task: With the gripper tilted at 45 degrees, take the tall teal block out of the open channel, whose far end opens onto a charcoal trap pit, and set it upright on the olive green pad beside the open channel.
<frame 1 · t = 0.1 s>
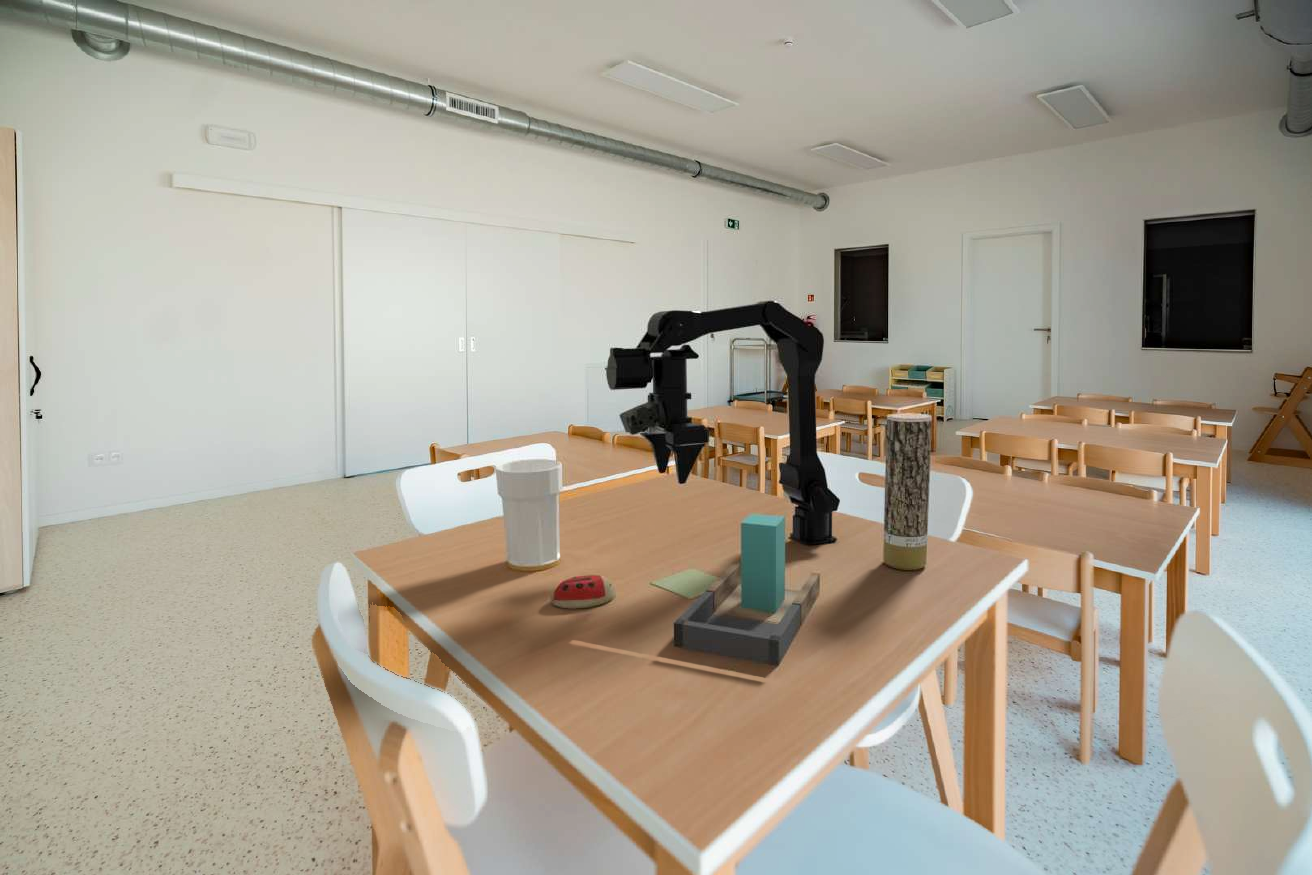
hand: (671, 478, 116), 15 cm above the table, tool pointing down, fingers open, 9 cm apart
ladybug figurine: (584, 603, 102), on the table
teal block: (763, 603, 98), resting on open channel
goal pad: (691, 585, 106), on the table
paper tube: (904, 565, 113), on the table
trap pit: (738, 639, 88), on the table
cup: (534, 563, 119), on the table
open channel: (764, 604, 98), on the table
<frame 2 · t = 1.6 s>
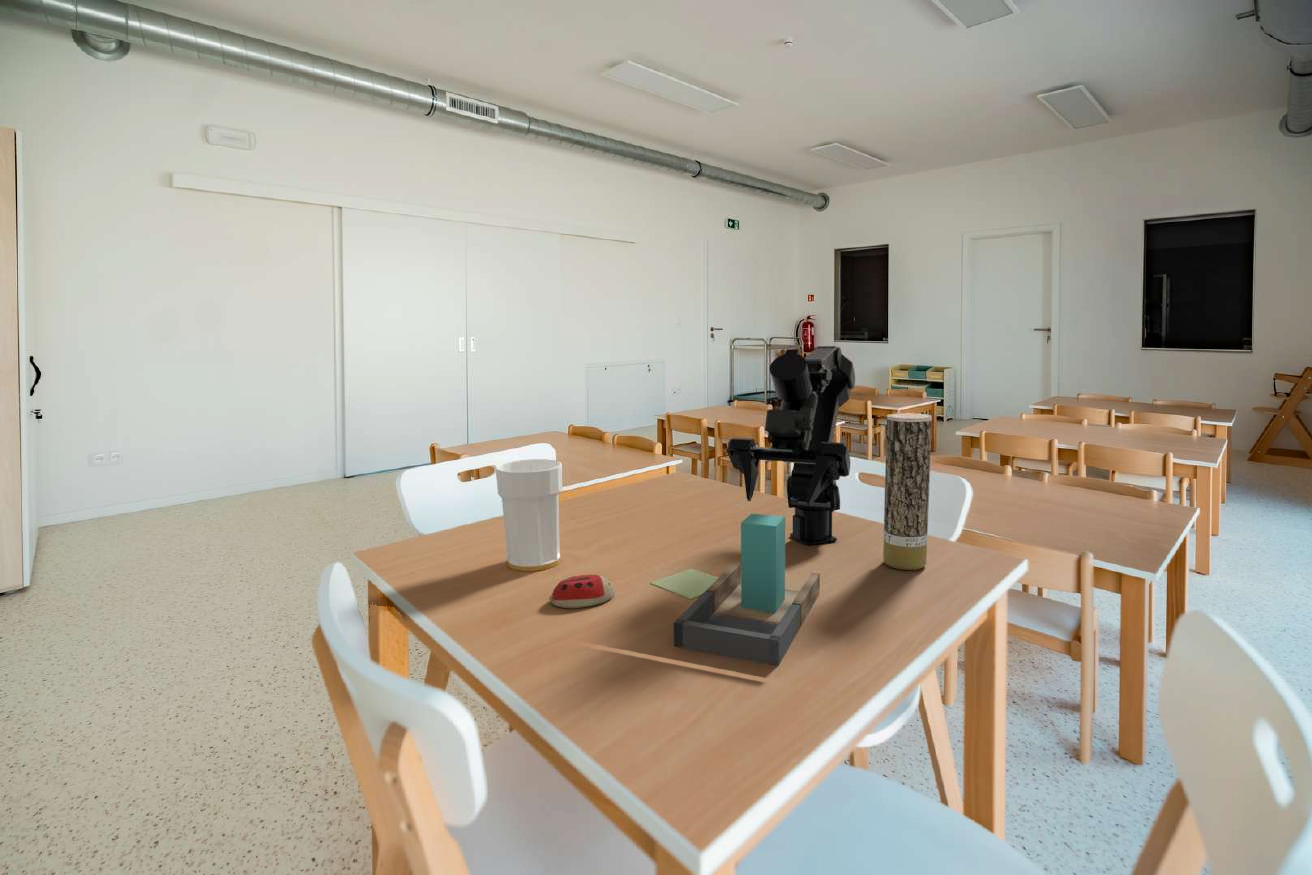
hand: (777, 502, 103), 13 cm above the table, tool tilted 45°, fingers open, 9 cm apart
nothing on the table moved.
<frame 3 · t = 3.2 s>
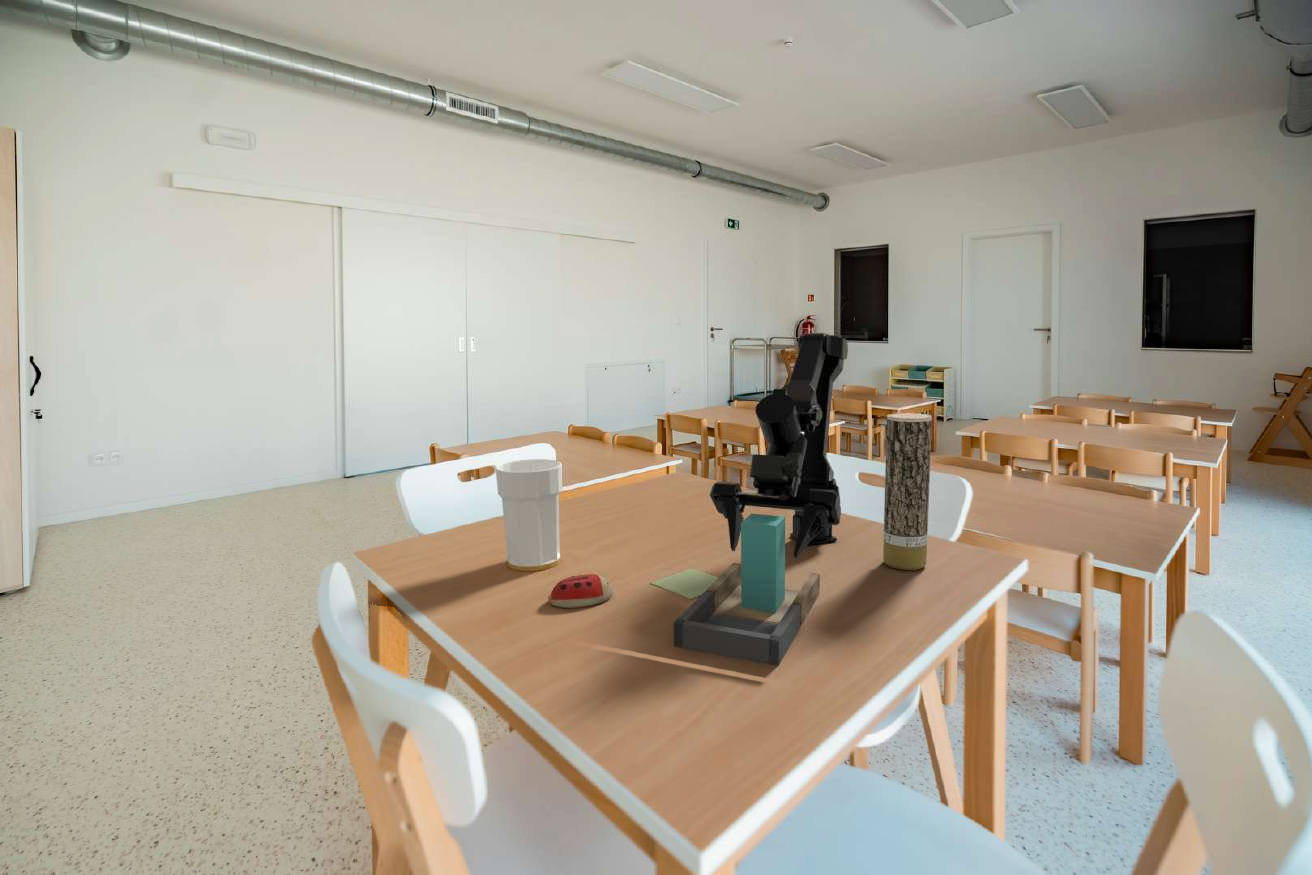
hand: (763, 553, 97), 8 cm above the table, tool tilted 45°, fingers open, 9 cm apart
nothing on the table moved.
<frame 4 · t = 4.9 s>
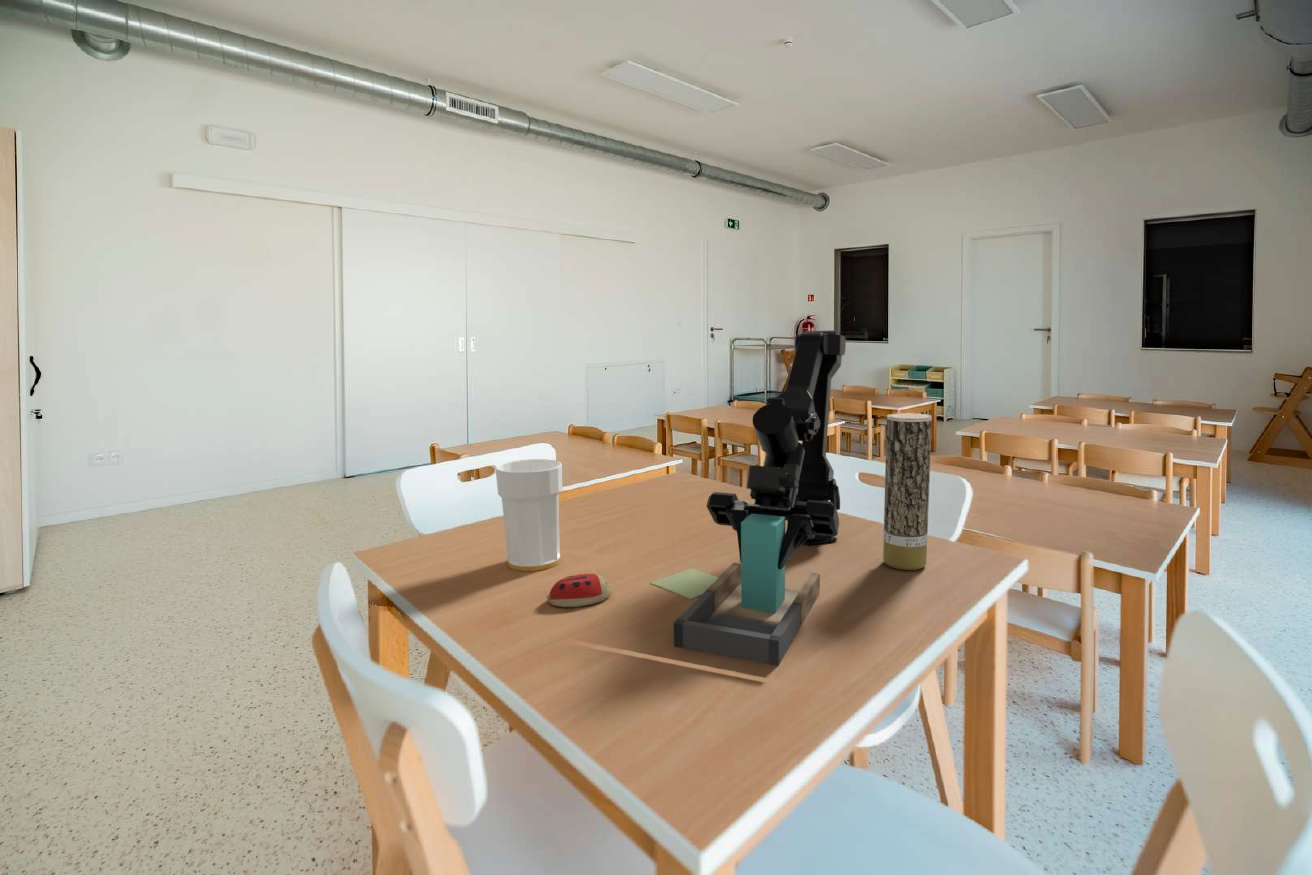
hand: (760, 565, 96), 7 cm above the table, tool tilted 45°, fingers closed on teal block, 5 cm apart
teal block: (763, 603, 98), resting on open channel, touching gripper
everything else where it was.
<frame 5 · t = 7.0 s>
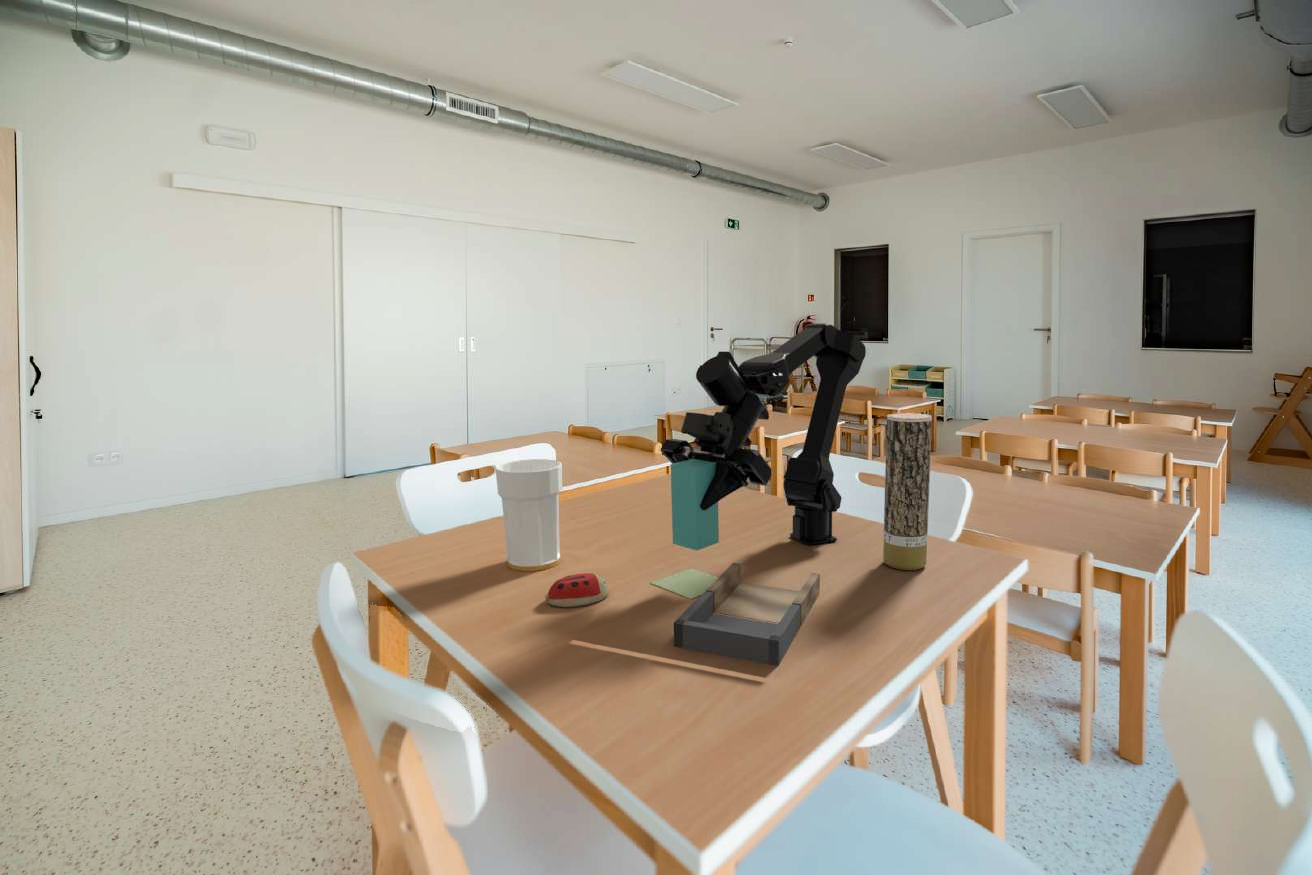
hand: (688, 505, 102), 13 cm above the table, tool tilted 45°, fingers closed on teal block, 5 cm apart
teal block: (695, 543, 104), point 7 cm above the table, touching gripper
when the fingers open (8 cm above the table, at t = 9.2 s): teal block drops 1 cm, resting on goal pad.
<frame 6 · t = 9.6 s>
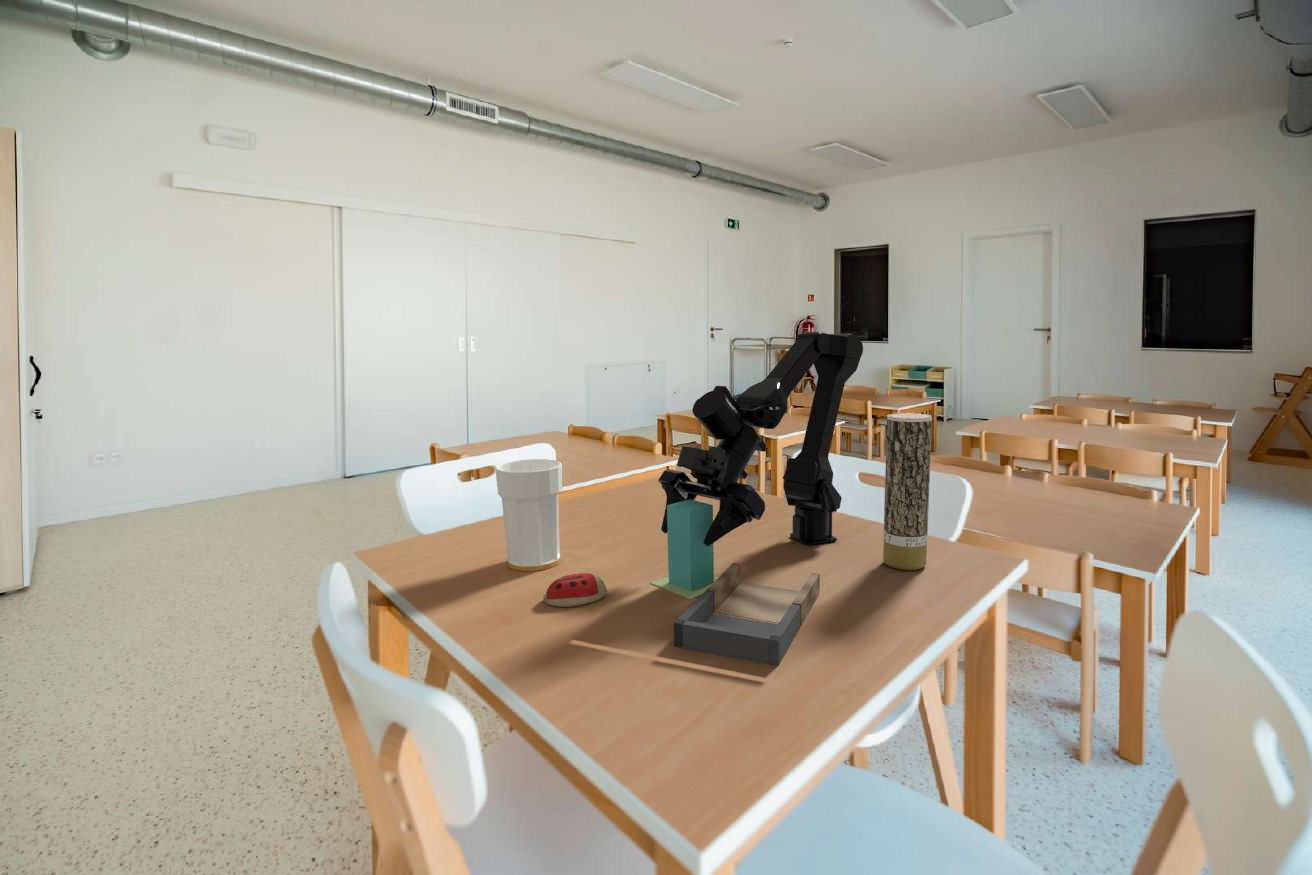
hand: (683, 538, 104), 8 cm above the table, tool tilted 45°, fingers open, 9 cm apart
teal block: (691, 582, 106), resting on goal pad
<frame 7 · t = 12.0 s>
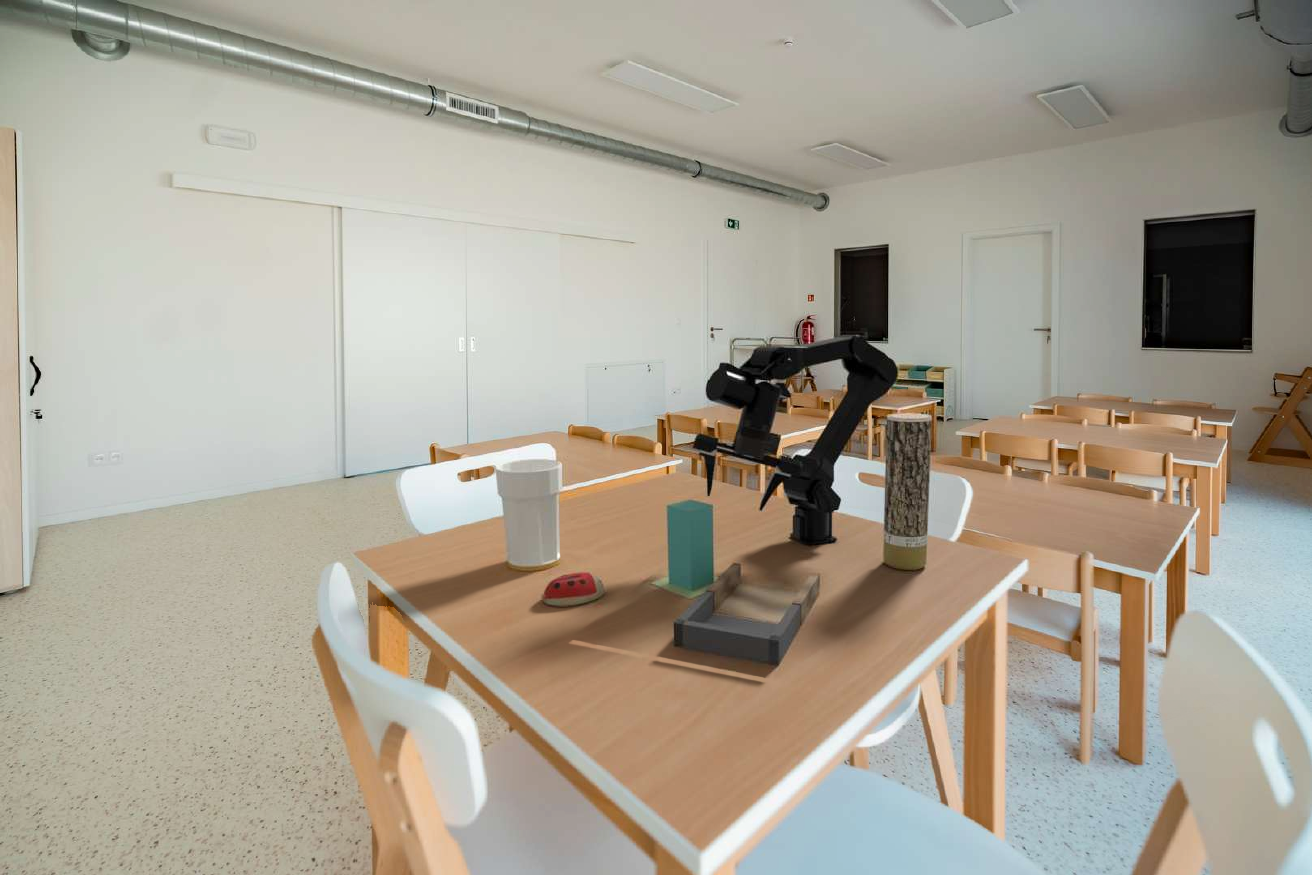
hand: (734, 503, 117), 10 cm above the table, tool tilted 20°, fingers open, 9 cm apart
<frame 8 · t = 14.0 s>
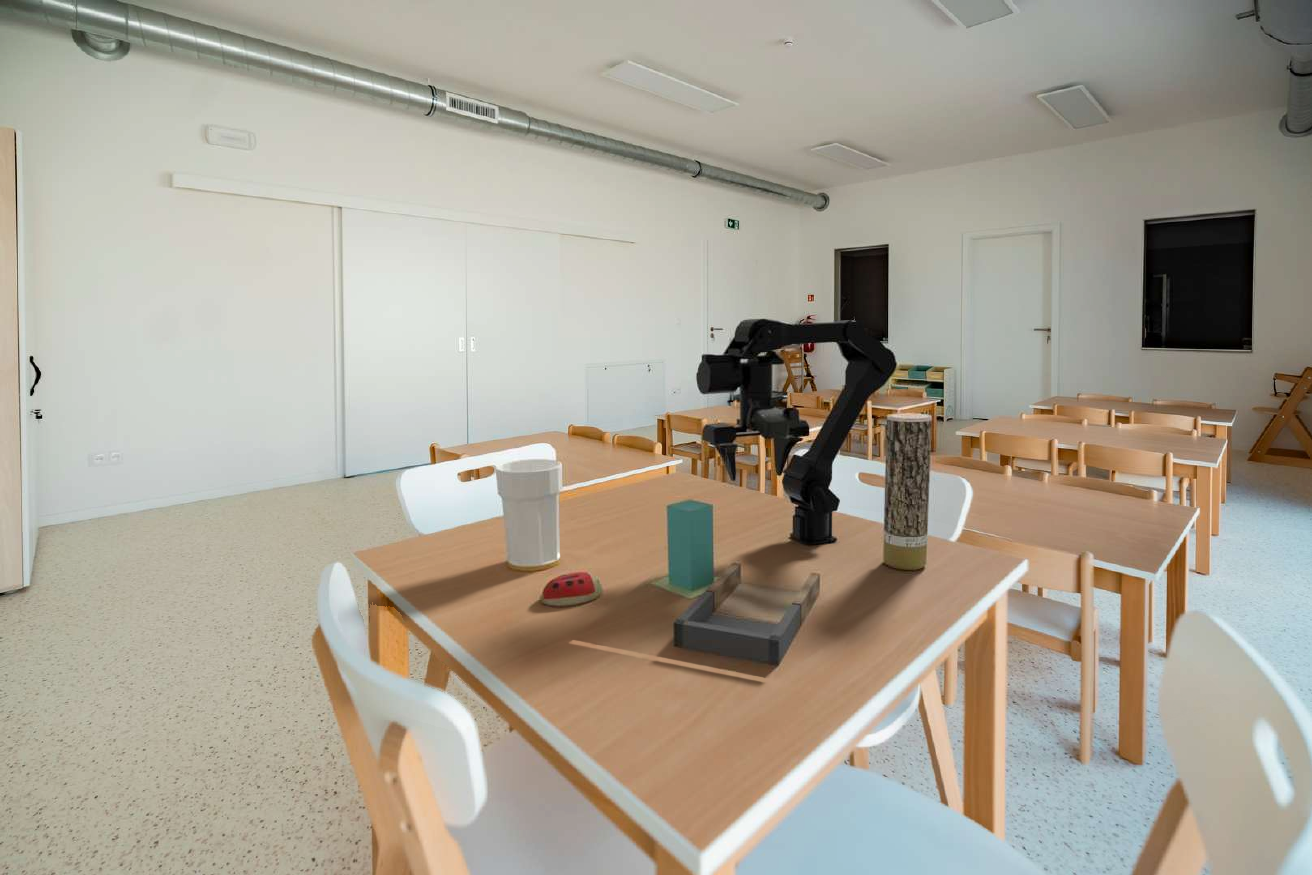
hand: (756, 477, 122), 13 cm above the table, tool pointing down, fingers open, 9 cm apart
at the end: teal block inside the target area on the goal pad (0.1 cm from its centre), point 0.5 cm above the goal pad's base; teal block tilted 0°; teal block touching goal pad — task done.
